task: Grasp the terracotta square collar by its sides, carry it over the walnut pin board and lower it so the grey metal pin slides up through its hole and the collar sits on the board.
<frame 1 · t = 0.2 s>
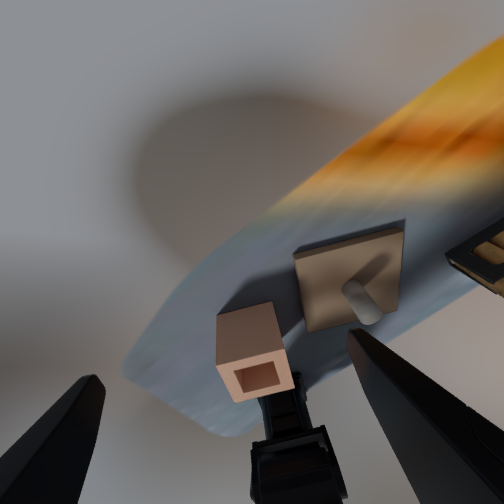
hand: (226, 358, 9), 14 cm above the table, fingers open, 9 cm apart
collar: (250, 327, 28), on the table
pin board: (346, 281, 26), on the table
ammunition clip: (496, 227, 25), on the table
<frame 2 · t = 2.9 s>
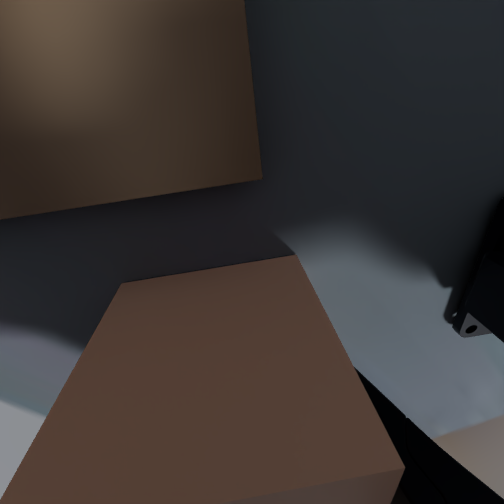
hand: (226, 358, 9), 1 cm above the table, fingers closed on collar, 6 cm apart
collar: (225, 330, 10), on the table, touching gripper
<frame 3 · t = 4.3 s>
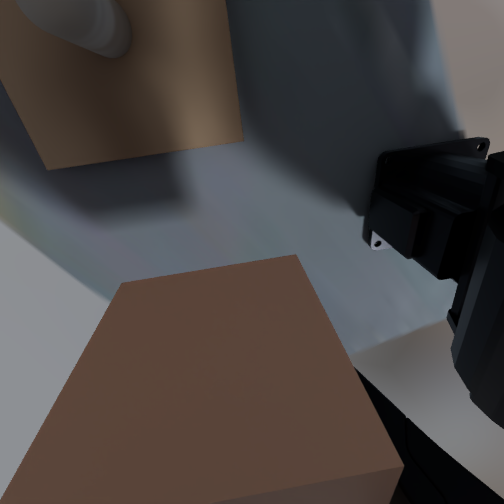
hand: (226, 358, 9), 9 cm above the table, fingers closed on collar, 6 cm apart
collar: (225, 330, 10), point 8 cm above the table, touching gripper
pin board: (114, 33, 11), on the table
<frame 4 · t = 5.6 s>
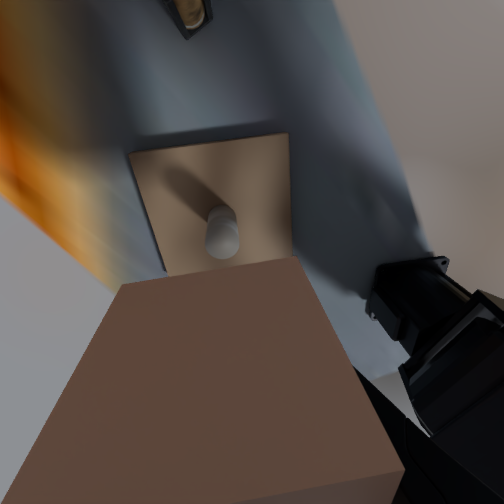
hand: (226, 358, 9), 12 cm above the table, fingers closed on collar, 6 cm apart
collar: (225, 331, 10), point 11 cm above the table, touching gripper
pin board: (222, 213, 19), on the table
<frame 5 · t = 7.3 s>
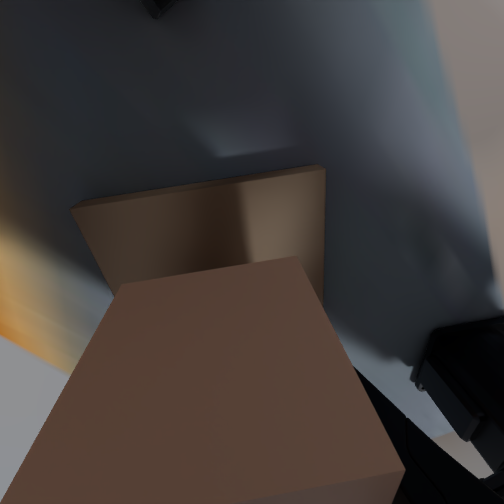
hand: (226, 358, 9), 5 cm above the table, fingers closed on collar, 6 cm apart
collar: (225, 331, 10), point 4 cm above the table, touching gripper
pin board: (222, 277, 13), on the table
when the fingers open (3 cm above the table, at t = 8.7 s): collar stays where it is, resting on pin board.
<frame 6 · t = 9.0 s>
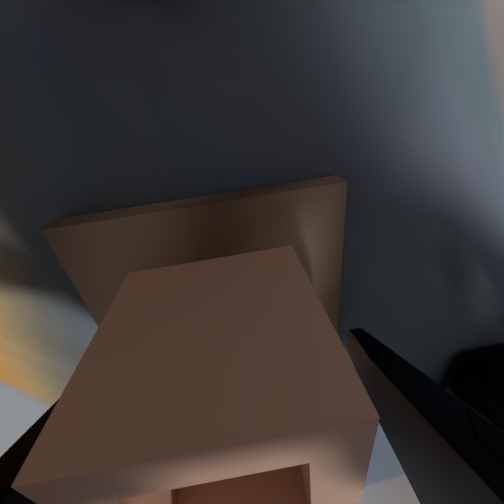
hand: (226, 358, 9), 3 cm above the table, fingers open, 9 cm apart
collar: (225, 318, 11), point 1 cm above the table, touching pin board
pin board: (224, 302, 12), on the table
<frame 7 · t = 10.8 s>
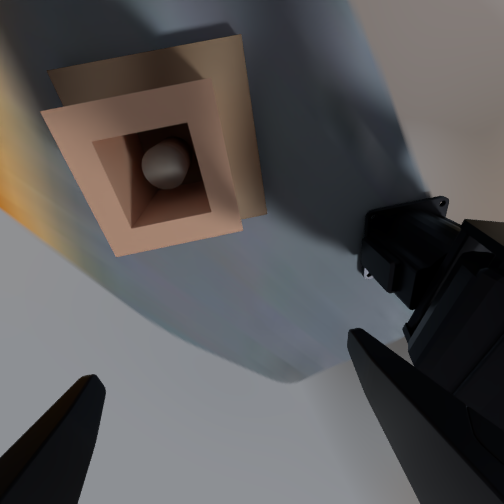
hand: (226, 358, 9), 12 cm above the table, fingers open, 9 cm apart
collar: (176, 155, 16), point 1 cm above the table, touching pin board
pin board: (177, 152, 16), on the table
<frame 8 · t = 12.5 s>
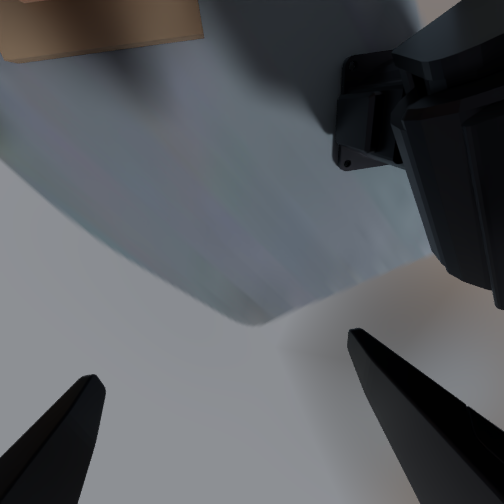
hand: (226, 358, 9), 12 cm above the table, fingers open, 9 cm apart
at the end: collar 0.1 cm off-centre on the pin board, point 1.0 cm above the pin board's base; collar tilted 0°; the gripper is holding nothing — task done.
